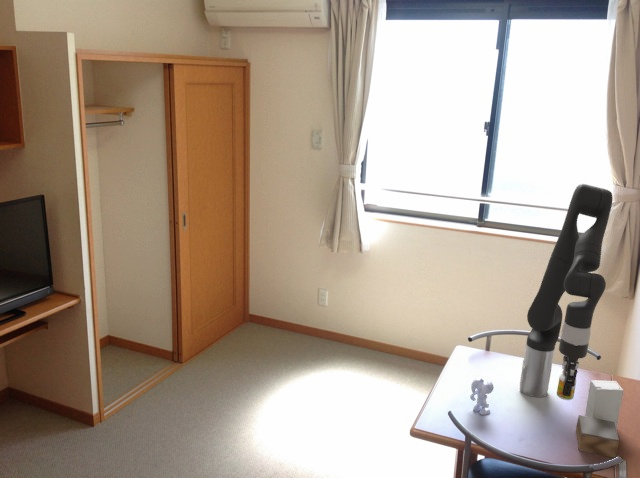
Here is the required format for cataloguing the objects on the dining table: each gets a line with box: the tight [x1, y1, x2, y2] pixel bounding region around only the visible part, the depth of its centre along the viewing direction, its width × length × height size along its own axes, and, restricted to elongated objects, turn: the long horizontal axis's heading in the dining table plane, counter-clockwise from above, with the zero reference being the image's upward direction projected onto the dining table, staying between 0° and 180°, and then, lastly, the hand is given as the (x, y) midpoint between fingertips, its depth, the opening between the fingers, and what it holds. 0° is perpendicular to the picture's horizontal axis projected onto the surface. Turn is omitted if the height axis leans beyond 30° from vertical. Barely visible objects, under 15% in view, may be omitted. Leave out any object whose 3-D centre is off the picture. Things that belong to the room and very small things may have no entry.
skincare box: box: [584, 379, 624, 430], centre depth 187 cm, size 8×6×15 cm
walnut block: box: [575, 414, 620, 459], centre depth 178 cm, size 10×10×6 cm
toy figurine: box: [470, 378, 494, 416], centre depth 193 cm, size 7×6×12 cm
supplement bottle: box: [556, 368, 577, 401], centre depth 175 cm, size 5×5×8 cm
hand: (565, 390), depth 175 cm, fingers closed on supplement bottle, 4 cm apart
